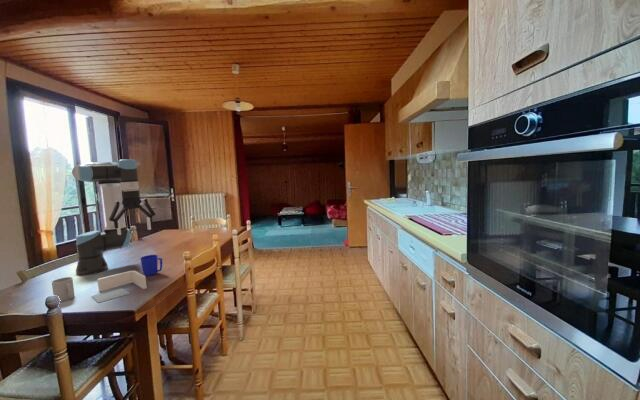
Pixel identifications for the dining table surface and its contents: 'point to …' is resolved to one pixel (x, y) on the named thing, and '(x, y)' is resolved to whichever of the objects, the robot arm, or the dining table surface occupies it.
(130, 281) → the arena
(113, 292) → the pad
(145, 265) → the mug
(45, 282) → the dining table surface
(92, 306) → the dining table surface
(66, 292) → the cup
